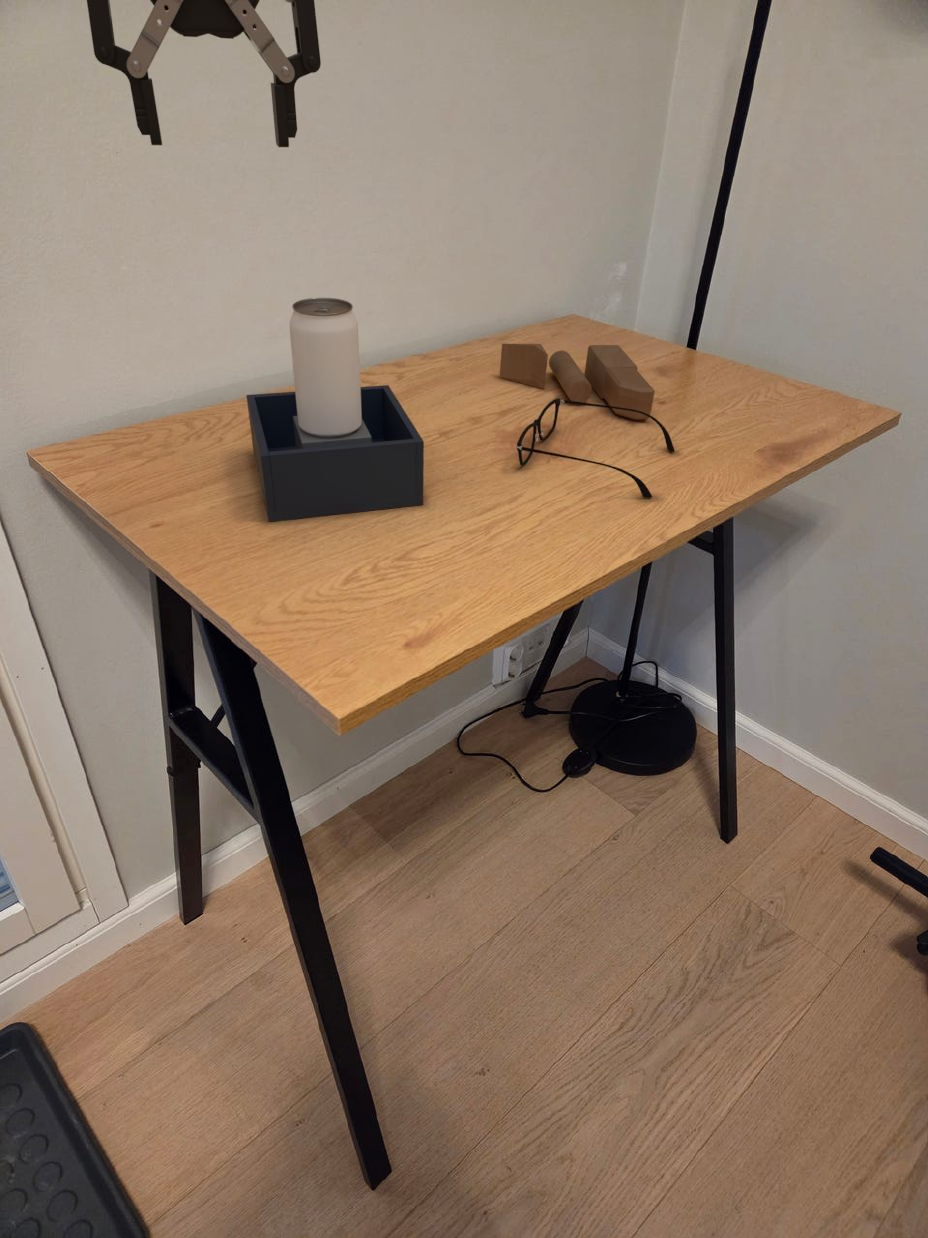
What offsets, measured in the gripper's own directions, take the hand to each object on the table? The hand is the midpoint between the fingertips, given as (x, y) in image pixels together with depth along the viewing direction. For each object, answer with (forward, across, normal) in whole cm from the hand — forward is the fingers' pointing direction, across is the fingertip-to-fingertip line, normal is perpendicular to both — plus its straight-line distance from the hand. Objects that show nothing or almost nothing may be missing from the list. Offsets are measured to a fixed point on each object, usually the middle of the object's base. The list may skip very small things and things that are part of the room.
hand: (221, 145), depth 55 cm
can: (+26, +8, +11) cm, 29 cm away
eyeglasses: (+32, +38, +9) cm, 51 cm away
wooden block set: (+32, +43, +28) cm, 61 cm away
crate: (+32, +8, +11) cm, 35 cm away
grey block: (+31, +8, +11) cm, 34 cm away
